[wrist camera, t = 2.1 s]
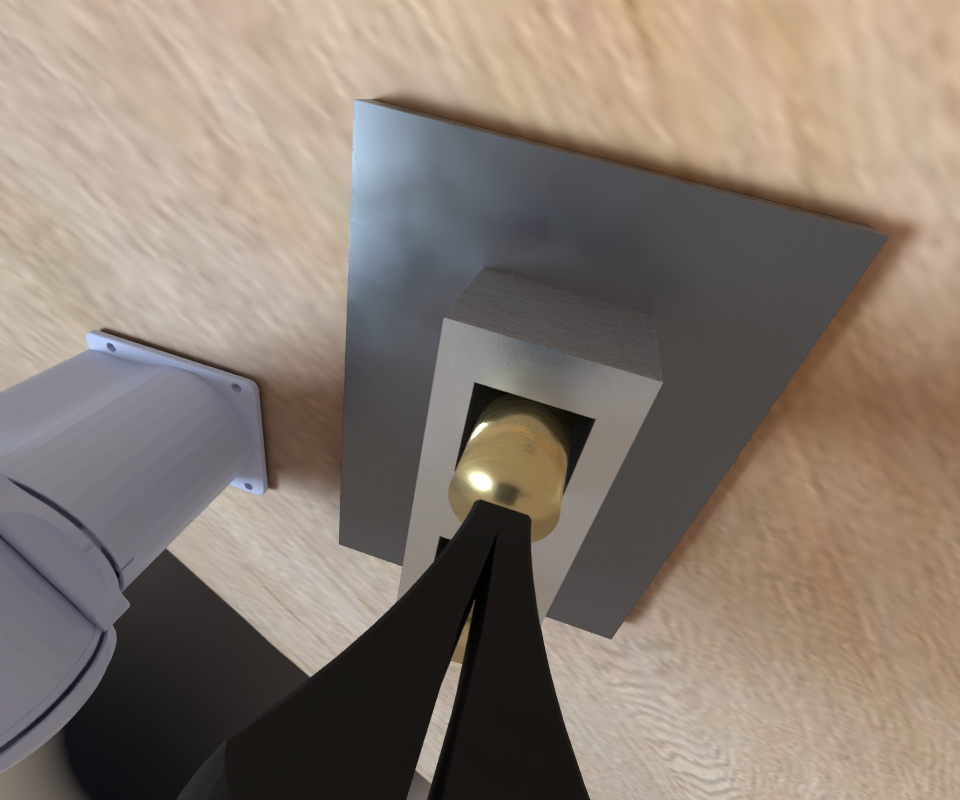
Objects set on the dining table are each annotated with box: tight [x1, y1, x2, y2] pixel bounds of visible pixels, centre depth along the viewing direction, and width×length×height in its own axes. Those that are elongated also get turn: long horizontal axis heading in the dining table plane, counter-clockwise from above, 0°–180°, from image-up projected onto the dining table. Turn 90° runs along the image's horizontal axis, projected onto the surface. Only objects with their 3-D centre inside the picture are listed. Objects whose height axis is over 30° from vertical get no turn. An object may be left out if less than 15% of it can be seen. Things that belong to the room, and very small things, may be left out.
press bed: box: [339, 99, 889, 639], centre depth 21 cm, size 16×22×1 cm
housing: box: [397, 267, 663, 626], centre depth 18 cm, size 6×14×4 cm, turn 169°
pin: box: [448, 388, 574, 543], centre depth 14 cm, size 3×3×4 cm
